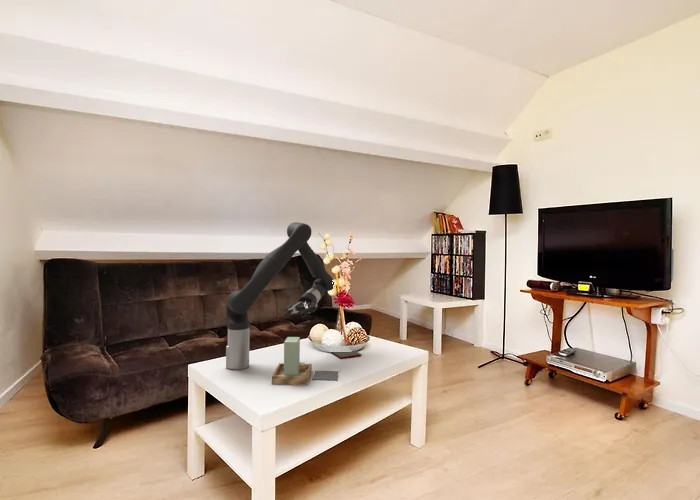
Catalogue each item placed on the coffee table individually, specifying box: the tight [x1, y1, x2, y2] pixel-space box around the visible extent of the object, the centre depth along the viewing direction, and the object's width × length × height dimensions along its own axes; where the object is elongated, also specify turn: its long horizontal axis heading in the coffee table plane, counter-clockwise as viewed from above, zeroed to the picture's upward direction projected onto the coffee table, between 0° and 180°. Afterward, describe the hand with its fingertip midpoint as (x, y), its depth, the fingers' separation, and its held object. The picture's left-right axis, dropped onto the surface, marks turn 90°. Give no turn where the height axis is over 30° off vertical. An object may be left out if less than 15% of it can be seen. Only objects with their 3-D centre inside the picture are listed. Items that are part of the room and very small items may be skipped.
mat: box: [312, 370, 339, 381], centre depth 159 cm, size 10×10×1 cm
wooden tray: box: [271, 362, 313, 386], centre depth 157 cm, size 14×15×3 cm
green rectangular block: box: [283, 336, 301, 376], centre depth 155 cm, size 5×8×15 cm, turn 179°
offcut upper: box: [299, 362, 306, 369], centre depth 161 cm, size 6×3×2 cm, turn 89°
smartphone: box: [330, 350, 363, 360], centre depth 195 cm, size 12×2×25 cm
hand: (293, 315), depth 167 cm, fingers open, 8 cm apart
